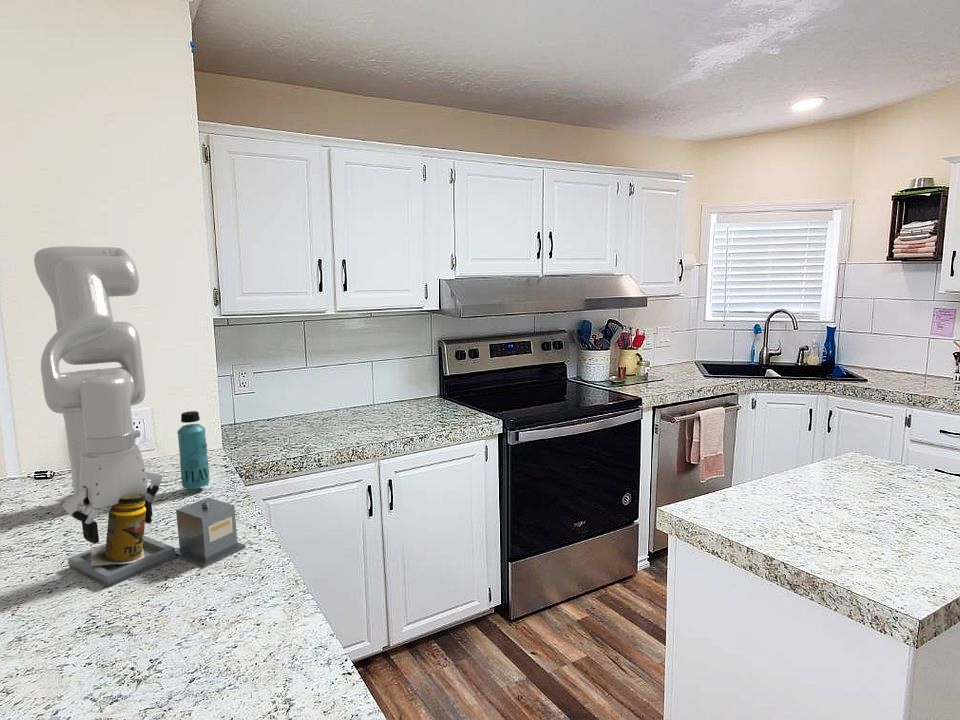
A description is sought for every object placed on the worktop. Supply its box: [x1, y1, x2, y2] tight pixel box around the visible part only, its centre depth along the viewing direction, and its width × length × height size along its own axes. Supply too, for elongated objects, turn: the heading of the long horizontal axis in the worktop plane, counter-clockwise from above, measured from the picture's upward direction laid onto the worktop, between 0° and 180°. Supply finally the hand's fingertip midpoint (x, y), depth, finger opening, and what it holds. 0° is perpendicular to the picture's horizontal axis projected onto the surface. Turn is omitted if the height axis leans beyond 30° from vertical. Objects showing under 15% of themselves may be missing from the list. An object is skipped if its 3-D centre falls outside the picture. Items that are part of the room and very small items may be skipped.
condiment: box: [90, 494, 146, 566], centre depth 111 cm, size 7×8×12 cm
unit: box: [175, 497, 246, 568], centre depth 115 cm, size 10×9×10 cm
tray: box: [67, 535, 177, 588], centre depth 112 cm, size 13×12×2 cm
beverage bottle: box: [176, 410, 211, 490], centre depth 147 cm, size 6×7×20 cm
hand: (120, 531), depth 111 cm, fingers open, 9 cm apart
